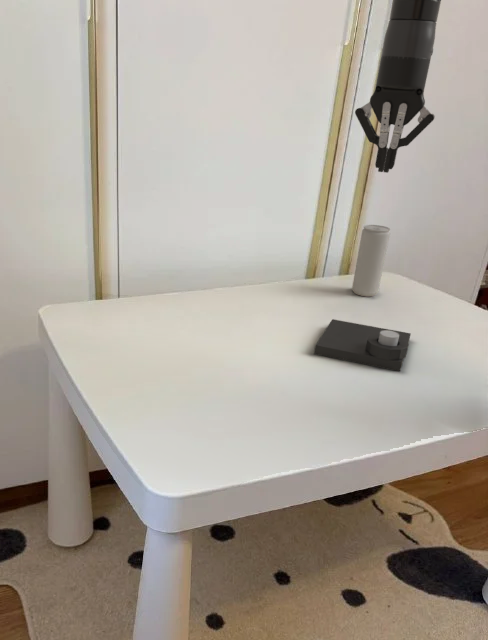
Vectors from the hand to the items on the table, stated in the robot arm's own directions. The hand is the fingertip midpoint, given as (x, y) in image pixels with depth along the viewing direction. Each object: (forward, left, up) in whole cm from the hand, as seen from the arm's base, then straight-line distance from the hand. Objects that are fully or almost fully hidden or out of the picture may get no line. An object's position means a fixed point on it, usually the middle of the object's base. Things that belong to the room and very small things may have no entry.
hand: (383, 171), depth 107 cm
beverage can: (-1, 0, -22) cm, 22 cm away
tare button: (-8, +30, -19) cm, 36 cm away
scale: (-5, +27, -21) cm, 34 cm away
